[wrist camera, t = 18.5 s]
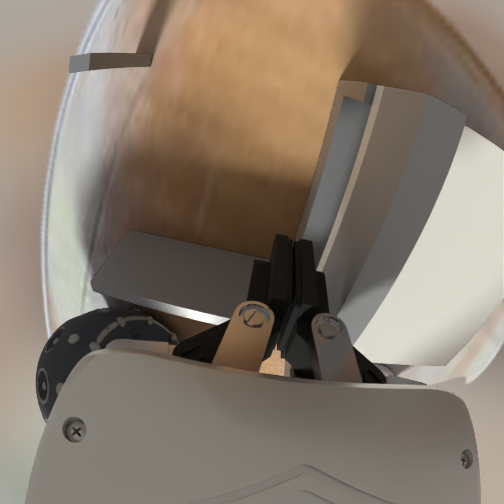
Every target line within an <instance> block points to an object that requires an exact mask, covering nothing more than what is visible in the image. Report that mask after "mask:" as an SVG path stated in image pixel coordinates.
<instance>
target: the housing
mask: <svg viewBox="0 0 504 504" xmlns="http://www.w3.org/2000/svg"><path fill="white" fill-rule="evenodd" d="M151 59H152V54H136V53H89V54H82V55H76V56H71V57H70V65H69V73H74V72H81V71H90V70H99V69H110V68H124V67H150V66H151ZM376 88H377V85H375V84H372V83H369V82H360V81H345V80H339V82H338V86H337V90H336V94H335V98H334V102H333V106H332V110H331V114H330V118H329V122H328V125H327V129H326V133H325V137H324V141H323V144H322V148H321V152H320V155H319V159H318V163H317V166H316V170H315V173H314V177H313V180H312V184H311V187H310V191H309V194H308V198H307V201H306V205H305V208H304V211H303V215H302V218H301V221H300V225H299V228H298V231H297V235H296V238H295V241H299V239H305V240H310V241H312V242H313V251H314V261H315V271H316V270H317V267H318V265H319V262H320V260H321V257H322V255H323V252H324V249H325V247H326V244H327V242H328V239H329V236H330V234H331V231H332V228H333V225H334V223H335V220H336V217H337V214H338V212H339V209H340V206H341V203H342V200H343V197H344V194H345V192H346V189H347V186H348V183H349V180H350V177H351V174H352V170H353V167H354V164H355V161H356V158H357V155H358V152H359V148H360V145H361V142H362V138H363V135H364V132H365V128H366V125H367V121H368V118H369V114H370V111H371V107H372V103H373V99H374V96H375V92H376ZM254 259H256V260H262V261H267V262H269V261H270V259H265V258H260V257H256V256H251V255H246V254H241V253H237V252H232V251H227V250H223V249H218V248H213V247H208V246H204V245H199V244H194V243H190V242H185V241H180V240H175V239H171V238H166V237H161V236H157V235H152V234H147V233H143V232H138V231H134V230H131V231H130V232H129V233H128V234H127V235H126V237H125V238H124V239H123V240H122V242H121V243H120V244H119V245H118V246H117V248H116V249H115V250H114V251H113V253H112V254H111V255H110V257H109V258H108V259H107V260H106V262H105V263H104V264H103V266H102V267H101V268H100V269H99V271H98V272H97V273H96V275H95V276H94V277H93V279H92V280H91V286H92V289H93V291H95V292H98V293H101V294H104V295H107V296H111V297H114V298H117V299H120V300H124V301H127V302H130V303H134V304H137V305H141V306H144V307H148V308H151V309H155V310H159V311H162V312H166V313H170V314H174V315H178V316H182V317H186V318H190V319H194V320H198V321H202V322H206V323H211V324H215V325H219V324H221V323H223V322H225V321H227V320H229V319H232V316H233V314H234V312H235V309H236V308H237V307H238V305H240V304H241V303H243V302H246V299H247V294H248V289H249V283H250V278H251V273H252V268H253V263H254Z"/></svg>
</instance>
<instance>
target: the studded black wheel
mask: <svg viewBox="0 0 504 504" xmlns="http://www.w3.org/2000/svg"><path fill="white" fill-rule="evenodd" d="M116 339H129V340H141V341H156V342H168V345H177V344H179V341H178V340H177V335H176V334H175V333H173V332H171V331H169V330H168V329H167V328H166V327H165V326H163V325H162V324H161V323H159V322H158V321H156V320H154V319H153V318H152V317H151V316H146V315H144V314H143V313H142V312H141V311H140V310H139V309H136V308H134V309H130V310H127V309H118V308H102V309H96V310H93V311H90V312H88V313H85V314H82V315H80V316H77V317H74V318H72V319H70V320H68V321H67V322H65V323H64V324H62V325H61V326H60V327H59V328H58V329H57V330H56V331H55V332H54V333H53V335H52V336H51V337H50V338H49V340H48V341H47V343H46V345H45V347H44V349H43V351H42V353H41V356H40V359H39V362H38V366H37V372H36V393H37V399H38V404H39V407H40V410H41V413H42V416H43V418H44V420H45V422H46V423H47V421H48V418H49V415H50V413H51V411H52V408H53V406H54V404H55V401H56V399H57V397H58V395H59V393H60V391H61V389H62V387H63V385H64V383H65V381H66V380H67V378H68V376H69V374H70V373H71V371H72V370H73V368H74V367H75V366H76V364H77V363H78V362H79V361H80V360H81V359H82V358H83V357H84V356H86V355H87V354H89V353H91V352H93V351H96V350H101V349H105V348H106V345H108V344H109V343H110V342H111V341H113V340H116ZM84 424H85V423H84Z"/></svg>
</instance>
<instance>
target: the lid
mask: <svg viewBox="0 0 504 504" xmlns="http://www.w3.org/2000/svg"><path fill="white" fill-rule="evenodd" d="M466 120H467V115H465V114H464V113H462V112H460V111H459V110H457V109H455V108H454V107H452V106H450V105H448V104H446V103H445V102H443V101H441V100H439V99H437V98H435V97H433V96H431V95H429V94H426V93H421V92H416V91H411V90H405V89H400V88H394V87H387V86H380V85H377V88H376V92H375V96H374V99H373V103H372V107H371V111H370V114H369V118H368V121H367V125H366V128H365V132H364V135H363V138H362V142H361V145H360V148H359V152H358V155H357V158H356V161H355V164H354V167H353V170H352V174H351V177H350V180H349V183H348V186H347V189H346V192H345V194H344V197H343V200H342V203H341V206H340V209H339V212H338V214H337V217H336V220H335V223H334V225H333V228H332V231H331V234H330V236H329V239H328V242H327V244H326V247H325V249H324V252H323V255H322V257H321V260H320V262H319V265H318V267H317V270H316V271H320V272H324V274H325V279H326V287H327V295H328V304H329V313H330V314H333V315H335V316H337V317H338V318H340V319H341V320H342V321H343V322H344V323H345V325H346V327H347V330H348V333H349V337H350V340H351V343H352V345H353V346H354V347H355V348H356V349H357V350H358V351H359V352H360V353H362V354H363V355H364V356H365V357H366V358H367V359H368V360H369V361H371V362H372V363H384V364H400V365H422V366H446V365H447V364H448V363H449V362H450V361H451V360H452V359H453V358H454V357H455V356H456V355H457V354H458V353H459V352H460V351H461V350H462V349H463V348H464V346H465V345H466V344H467V343H468V342H469V341H470V340H471V339H472V338H473V337H474V335H475V334H476V333H477V332H478V331H479V330H480V328H481V327H482V326H483V325H484V324H485V322H486V321H487V320H488V319H489V318H490V316H491V315H492V314H493V312H494V311H495V310H496V309H497V307H498V306H499V305H500V303H501V302H502V301H503V299H504V151H503V150H502V149H500V148H499V147H498V146H496V145H495V144H493V143H492V142H490V141H489V140H487V139H486V138H484V137H483V136H481V135H480V134H478V133H477V132H475V131H473V130H472V129H470V128H468V127H467V126H465V123H466ZM289 370H290V364H289V363H288V362H287V361H286V360H285V372H284V376H286V377H290V371H289Z"/></svg>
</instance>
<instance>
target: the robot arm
mask: <svg viewBox="0 0 504 504" xmlns="http://www.w3.org/2000/svg"><path fill="white" fill-rule="evenodd" d="M276 344H277V350H279V351H281V358H284V359H285V360H286V361H287V362H288V363H289V364H290V370H289V371H290V377H286V376H279V375H272V374H265V373H259V370H260V367H261V363H262V362H263V361H264V360H266V359H267V358H269V357H270V356H271V354H272V351H273V349H275V346H276ZM84 423H85V424H84ZM480 491H481V490H480V471H479V460H478V451H477V444H476V439H475V433H474V429H473V424H472V421H471V417H470V414H469V411H468V408H467V406H466V404H465V402H464V401H463V400H462V399H461V398H460V397H459V396H458V395H456V394H455V393H453V392H450V391H448V390H445V389H443V388H438V387H434V386H427V385H426V384H424V383H422V382H418V381H413V380H409V379H405V378H401V377H398V376H394V374H393V372H392V371H391V370H390V369H389V368H387V367H385V366H382V365H379V364H373V363H372V362H371V361H369V360H368V359H367V358H366V357H365V356H364V355H363V354H362V353H360V352H359V351H358V350H357V349H356V348H355V347H354V346H353V345H352V343H351V340H350V337H349V333H348V330H347V327H346V325H345V323H344V322H343V321H342V320H341V319H340V318H338V317H337V316H335V315H333V314H330V313H329V304H328V295H327V287H326V279H325V274H324V272H320V271H315V261H314V251H313V242H312V241H310V240H305V239H299V241H294V244H293V248H292V240H289V239H288V236H286V235H280V234H276V236H275V240H274V244H273V248H272V252H271V257H270V261H269V262H267V261H262V260H256V259H254V263H253V268H252V273H251V278H250V283H249V289H248V294H247V299H246V302H243V303H241V304H240V305H238V307H237V308H236V309H235V312H234V314H233V316H232V319H229V320H227V321H225V322H223V323H221V324H219V325H217V326H215V327H213V328H210V329H208V330H206V331H204V332H202V333H200V334H197V335H195V336H193V337H191V338H189V339H186V340H184V341H182V342H180V343H179V344H177V345H168V342H156V341H141V340H129V339H116V340H113V341H111V342H110V343H109V344H108V345H106V348H105V349H101V350H96V351H93V352H91V353H89V354H87V355H86V356H84V357H83V358H82V359H81V360H80V361H79V362H78V363H77V364H76V366H75V367H74V368H73V370H72V371H71V373H70V374H69V376H68V378H67V380H66V381H65V383H64V385H63V387H62V389H61V391H60V393H59V395H58V397H57V399H56V401H55V404H54V406H53V408H52V411H51V413H50V415H49V418H48V421H47V423H46V426H45V429H44V432H43V435H42V438H41V440H40V443H39V446H38V449H37V453H36V457H35V460H34V464H33V468H32V472H31V476H30V480H29V484H28V490H27V494H26V501H25V504H480V498H481V495H480V494H481V492H480Z"/></svg>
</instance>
